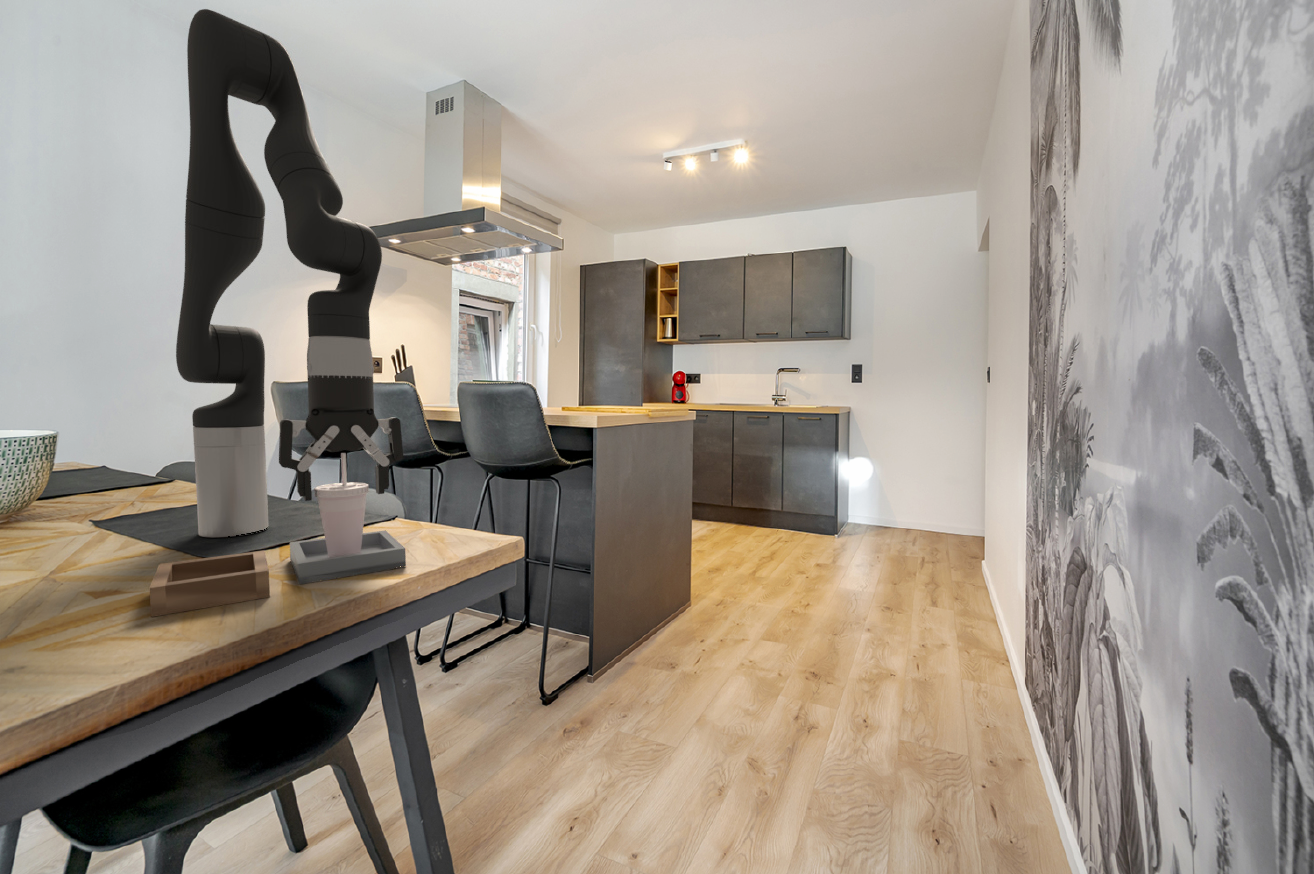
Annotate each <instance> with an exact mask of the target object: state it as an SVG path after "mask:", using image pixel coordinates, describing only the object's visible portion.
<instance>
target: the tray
mask: <svg viewBox="0 0 1314 874" xmlns="http://www.w3.org/2000/svg"><path fill="white" fill-rule="evenodd" d="M289 556H290V557H289V558H290V559H289V560H291V561H290V563H291V566H292V569H293V571H294V575H295V578H296V580H298V581H297V583H298V585H303V584H308V583H315V581H317V582H321V581H320V580H323V581H328V580H335V579H339V578H340V579H341V578H347V577H352V576H359V575H364V574H363V573H366V574H371V573H377V571H378V572H383V571H382V570H384V571H389V570H388V569H390V570H394V569H393V568H396V567H400V566H401V567H402V566H406V567H407V564H406V562H407V561H406V560H407V559H406V556H407V555H406V547H405V546H404V545H402V544H401V543H400V542H399V541H398V540H397V539H396V538H395V537H393V536H392V535H391V534H390V533H389V532H388V531H387V530H378V531H377V530H376V531H370V532H369V531H368V532H363V535H362V545H361V553H356V554H349V555H342V556H335V557H329V556H328V551H327V546H326V540H325V537H323V538H315V539H306V540H305V539H304V540H295V541H291V542H289ZM402 568H403V567H402ZM396 569H397V568H396ZM358 574H359V575H358Z"/></svg>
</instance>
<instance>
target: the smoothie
mask: <svg viewBox="0 0 1314 874" xmlns="http://www.w3.org/2000/svg"><path fill="white" fill-rule="evenodd" d="M340 459H341V461H340V463H341V482H337V483H329V484H322V485H318V486H316V487H315V488H314V494H313V496H314V497H315V498H316V497H317V503H318V507H319V508H318V509H319V513H320V519H321V524H322V529H323V533H324V538H325V540H326V546H327V551H328V556H329V557H335V556H342V555H349V554H356V553H361V545H362V535H363V533H364V523H365V512H366V504H367V503H366V502H367V494H369V492H370V490H369V484H368V483H365V482H353V481H351V482H348V479H347V477H348V476H347V475H348V474H347V454H346V452H341V453H340Z"/></svg>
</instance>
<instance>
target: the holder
mask: <svg viewBox="0 0 1314 874" xmlns="http://www.w3.org/2000/svg"><path fill="white" fill-rule="evenodd" d="M266 556H267V555H266V551H265V550H257V551H251V552H244V553H235V554H227V555H220V556H219V555H218V556H210V557H205V558H196V559H189V560H179V561H172V562H165V563H159V564H158V567H157V569H156V572H155V574H154V576H153V579H152V581H151V583H150V586H149V601H150V616H151V617H152V618H153V617H157V616H158V617H159V616H164V615H171V614H177V613H181V612H190V611H195V610H200V609H206V608H211V607H217V606H218V607H219V606H223V605H229V604H235V603H241V602H247V601H254V600H258V599H264V598H270V597H271V592H270V587H271V586H270V571H269V570H270V569H269V566H268V561H267V557H266Z"/></svg>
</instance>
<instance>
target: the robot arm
mask: <svg viewBox="0 0 1314 874" xmlns="http://www.w3.org/2000/svg"><path fill="white" fill-rule="evenodd" d="M189 24H190V25H189V29H188V35H187V44H186V45H187V49H186V52H187V54H186V55H187V81H188V82H187V84H188V104H189V105H188V106H189V130H190V131H189V157H188V171H187V172H188V173H187V183H186V184H187V186H186V195H185V198H186V199H185V214H184V215H185V216H184V220H185V221H184V272H183V273H184V275H183V276H184V277H183V288H182V297H181V305H180V312H179V320H178V325H177V326H178V328H177V336H176V344H175V345H176V348H175V359H176V361H175V362H176V366H177V367H176V368H177V370H178V373H179V375H180V377H181V378H182V379H183V380H184V381H187V382H189V383H192V384H193V383H194V384H195V383H196V384H221V385H222V384H223V385H224V384H225V385H226V384H233V385H235V387H234V391H233V392H232V393H231V394H230V395H228V396H226V397H225V398H223V399H221V400H218V401H216V402H213V403H209V404H206V405H203V406H200V407H197V408H195V409H194V410H193V411H192V426H193V427H192V433H193V434H192V435H193V437H192V438H193V451H194V469H195V470H194V471H195V487H196V488H195V489H196V507H197V508H196V509H197V511H196V512H197V513H196V514H197V528H198V536H199V537H203V538H229V537H228V536H230V537H236V535H239V536H242V535H241V534H245V535H247V534H246V533H251V532H255V531H259V530H263V531H265V530H267V529H268V528H269V527H268V526H269V507H268V505H269V503H268V483H267V480H268V479H267V478H268V477H267V460H266V459H267V456H266V438H265V435H266V433H265V373H266V372H265V371H266V369H265V368H266V367H265V366H266V359H265V358H266V356H265V355H266V353H265V352H266V351H265V344H264V340H263V337H262V336H261V333H259V331H258V330H256V329H255V328H253V327H252V328H251V327H246V326H245V327H244V326H235V325H233V326H232V325H225V324H224V325H223V324H222V325H221V324H211V321H212V317H213V315H214V312H215V309H216V307H217V305H218V302H219V301H220V299H221V297H222V296H223V294H224V293H225V292H226V290H228V288H229V287H230V285H232V284H233V282H234V281H236V280H237V278H239V277H240V276H241V275H242V274H243V273H244V272H245V271H246V269H248V268H249V266H250V265H251V264H252V263H253V262H254V261H255V260H256V258H257V257H258V256H259V253H260V252H261V250H262V247H263V241H264V229H265V219H266V218H265V217H266V204H265V199H264V196H263V193H262V192H261V190H260V187H259V185H258V183H257V181H256V180H255V178H254V175H253V173H252V171H251V169H250V168H249V167H248V165H247V162H246V161H245V159H244V157H243V155H242V154H241V151H240V150H239V147H238V145H237V142H236V140H235V137H234V134H233V130H232V126H231V121H230V113H229V96H230V97H233V98H236V99H238V100H242V101H244V102H248V103H251V104H254V105H257V106H263V107H265V108H266V109H267V110H268V111H269V112H270V114H271V115H272V117H273V119H274V120H275V121H274V124H273V126H272V127H271V129H270V131H269V133H268V135H267V137H266V140H265V143H264V147H263V148H264V149H263V153H264V154H263V156H264V162H265V166H266V169H267V171H268V173H269V176H270V178H271V179H272V182H273V184H274V186H275V188H276V190H277V193H278V195H279V197H280V198H281V201H282V205H283V213H284V220H285V227H286V228H285V229H286V231H285V232H286V241H287V246H288V248H289V251H290V252H291V254H292V255H293V256H294V258H296V259H297V260H298V261H299V262H300V263H301V264H302V265H304V266H305V267H308V268H310V269H314V270H317V271H323V272H328V273H333V274H338V275H339V280H338V283H337V285H336V287H335V289H328V290H327V289H324V290H318V291H315V292H312V293H310V295H309V297H308V299H307V330H308V331H307V332H308V334H307V335H308V338H307V339H308V343H307V348H306V349H307V351H306V369H307V371H306V372H307V393H308V399H307V400H308V415H307V418H306V420H295V419H294V420H293V419H292V420H291V419H288V418H283V419H282V420H280V422H279V439H278V440H279V441H278V442H279V444H278V463H279V465H280V466H281V467H282V468H284V469H290V470H293V471H295V472H296V487H297V489H296V490H297V493H298V495H299V497H301V498H302V497H303V499H304V501H305V502H309V501H312V500H313V496H312V472H311V470H310V467H311V466H312V465H313V463H314V462H315V461H316V460H317V459H318V458H319V457H320V456H321V455H322V453H323V452H324V451H327V452H330V453H337V452H342V451H350V452H358V451H359V450H361V449H363V450H364V451H365V452H366V453H367V454H368V455H369V456H370V457H371V458H372V459H373V461H375V462H376V465H375V466H374V471H375V475H374V476H375V478H374V479H375V493H376V494H377V495H383V494H385V490H388V489H389V487H390V466H391V465H392V464H394V463H396V462H400V461H402V460H404V448H403V438H402V437H403V434H402V426H401V425H402V424H401V420H400V419H399V418H398V417H393V416H391V417H388V418H380V419H378V418H377V417H376V414H375V403H374V401H375V400H374V399H375V398H374V395H375V393H374V373H375V368H374V363H373V361H374V360H373V352H372V348H371V329H370V322H371V321H370V308H371V303H372V300H373V296H374V292H375V288H376V285H377V281H378V277H379V273H380V269H381V266H382V261H383V259H382V257H383V252H382V246H381V243H380V240H379V238H378V235H376V232H374V231H373V229H371V228H370V227H369V226H367V225H365V224H363V223H360V222H357V221H353V220H350V219H346V218H344V217H340V216H337V215H338V214H340V211H342V208H343V204H344V200H343V199H344V198H343V194H342V191H341V188H340V186H339V184H338V183H337V181H336V178H335V176H334V174H333V172H332V171H331V169H330V167H329V165H328V163H327V161H326V159H325V156H323V153H322V151H321V149H320V147H319V144H318V142H317V139H316V135H315V132H314V130H313V126H312V124H311V123H312V122H311V120H310V115H309V111H308V108H307V103H306V100H305V98H304V94H303V90H302V87H301V84H300V81H299V78H298V74H297V71H296V68H295V65H294V62H293V60H292V59H291V56H290V54H289V52H288V50H287V49H286V48H285V47H284V45H283V44H282V43H281V42H280V41H279V40H277V39H275V38H274V37H272V36H270V35H268V34H266V33H264V32H262V31H260V30H258V29H255V28H253V27H250V26H249V25H246V24H244V23H242V22H239V21H237V20H235V19H233V18H231V17H228V16H226V15H224V14H222V13H219V12H217V11H214V10H211V9H208V8H203V9H199V10H197V12H196V13H195V14H194V15H193V18H192V20H191V21H190V23H189ZM379 427H380V429H382V432H383V433H384V434H387V436H388V447H389V448H388V449H389V453H386V454H384V452H383V451H382V450H381V449H380V448H379V447H378V445H377V444H376V443H375V442H374V441H373V439H372V437H373V435H374V434H375V432H377V430H378V428H379ZM304 429H305V430H306V431H307V432H308V433H309V435H311V437H312V438H313V439H314V440H313V441H312V443H310V445H309V446H308V447H307V448H306V449H305V452H304V453H302V455H301V456H300V458H299V459H297V458H294V457H293V438H297V437H298V436H299V435H300V433H301V431H302V430H304ZM292 457H293V458H292ZM267 527H268V528H267ZM266 528H267V529H266ZM264 529H265V530H264ZM259 532H260V531H259ZM251 534H252V533H251Z"/></svg>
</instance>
